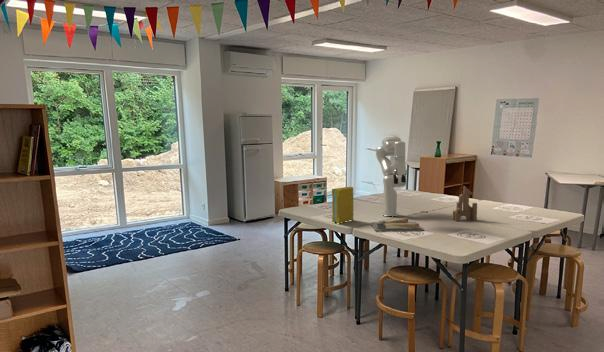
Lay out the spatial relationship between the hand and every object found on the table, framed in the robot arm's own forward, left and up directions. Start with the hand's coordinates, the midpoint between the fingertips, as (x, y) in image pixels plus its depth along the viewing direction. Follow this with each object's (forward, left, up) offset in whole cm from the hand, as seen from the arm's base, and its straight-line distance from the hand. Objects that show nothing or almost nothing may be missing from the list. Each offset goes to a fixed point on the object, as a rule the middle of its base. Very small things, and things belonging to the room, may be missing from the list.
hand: (399, 183), depth 289 cm
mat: (+13, -5, -29) cm, 32 cm away
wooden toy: (-4, +49, -29) cm, 57 cm away
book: (-6, -39, -29) cm, 49 cm away
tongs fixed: (+19, -6, -28) cm, 34 cm away
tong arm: (+13, -7, -28) cm, 31 cm away
